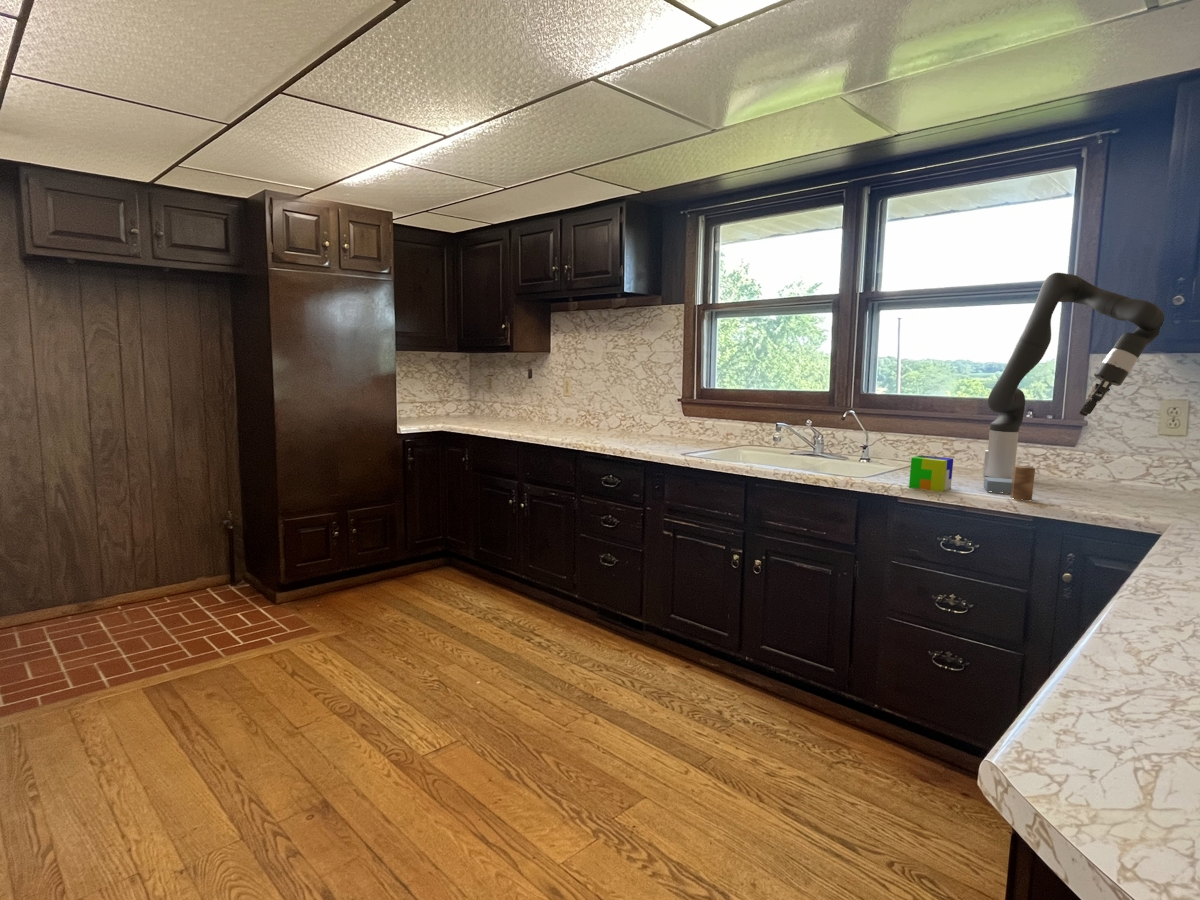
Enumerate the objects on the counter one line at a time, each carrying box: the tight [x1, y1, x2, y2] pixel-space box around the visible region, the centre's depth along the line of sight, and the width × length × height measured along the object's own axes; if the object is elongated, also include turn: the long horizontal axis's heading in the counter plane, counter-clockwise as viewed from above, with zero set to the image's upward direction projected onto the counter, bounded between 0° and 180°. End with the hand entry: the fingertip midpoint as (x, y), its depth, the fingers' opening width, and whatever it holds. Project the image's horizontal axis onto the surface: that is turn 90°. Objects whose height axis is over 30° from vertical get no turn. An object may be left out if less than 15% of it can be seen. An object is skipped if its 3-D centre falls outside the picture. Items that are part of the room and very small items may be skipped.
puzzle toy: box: [908, 455, 954, 493], centre depth 223 cm, size 10×10×10 cm
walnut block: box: [1010, 464, 1036, 501], centre depth 207 cm, size 5×5×10 cm
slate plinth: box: [982, 476, 1012, 494], centre depth 220 cm, size 9×9×4 cm
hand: (1084, 414), depth 208 cm, fingers open, 8 cm apart
